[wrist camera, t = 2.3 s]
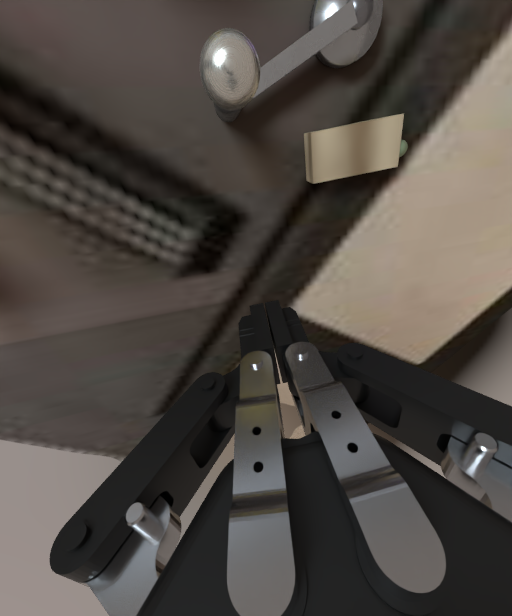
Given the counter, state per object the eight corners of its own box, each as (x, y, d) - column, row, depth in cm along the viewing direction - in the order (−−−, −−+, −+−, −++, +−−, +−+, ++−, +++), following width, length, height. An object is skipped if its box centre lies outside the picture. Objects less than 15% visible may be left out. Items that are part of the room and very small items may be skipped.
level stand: (306, 180, 33) (313, 183, 30) (303, 133, 30) (311, 132, 27) (395, 162, 33) (409, 164, 30) (400, 113, 30) (417, 111, 27)
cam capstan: (363, -46, 23) (643, -425, 8) (381, 42, 26) (602, -98, 11) (197, 82, 26) (158, 0, 11) (231, 146, 30) (237, 151, 14)
